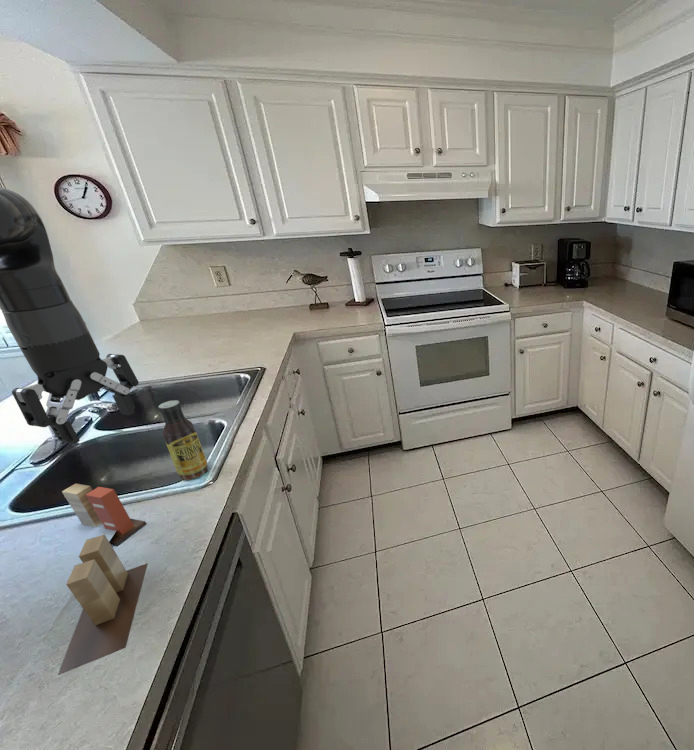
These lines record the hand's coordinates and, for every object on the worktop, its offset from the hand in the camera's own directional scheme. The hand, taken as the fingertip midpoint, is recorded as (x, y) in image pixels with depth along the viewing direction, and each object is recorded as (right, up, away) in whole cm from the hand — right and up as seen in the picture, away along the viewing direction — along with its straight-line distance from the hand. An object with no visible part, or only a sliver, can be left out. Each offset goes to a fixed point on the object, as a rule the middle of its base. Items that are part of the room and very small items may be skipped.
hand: (102, 427), depth 68 cm
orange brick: (-14, -24, +19) cm, 33 cm away
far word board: (-17, -24, +20) cm, 36 cm away
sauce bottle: (-11, -16, +36) cm, 41 cm away
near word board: (-1, -32, +2) cm, 32 cm away
